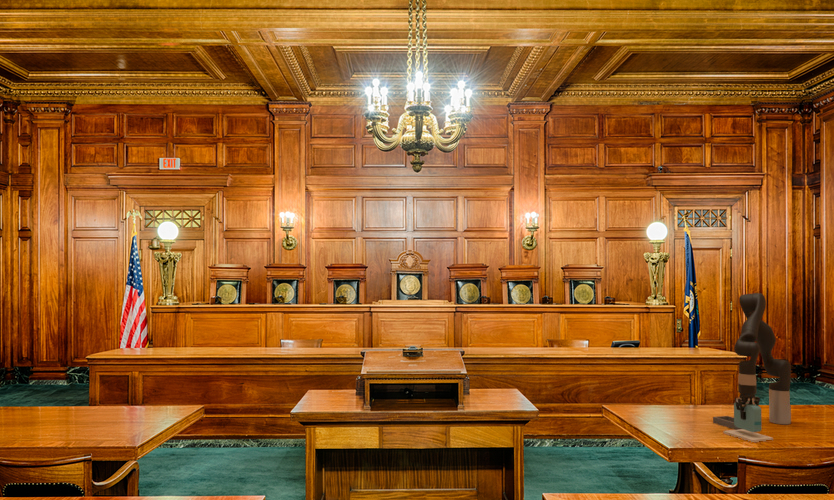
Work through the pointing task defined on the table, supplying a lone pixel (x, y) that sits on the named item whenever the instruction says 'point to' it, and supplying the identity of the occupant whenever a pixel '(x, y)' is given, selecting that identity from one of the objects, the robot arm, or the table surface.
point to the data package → (748, 418)
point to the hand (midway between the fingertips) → (747, 418)
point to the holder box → (725, 421)
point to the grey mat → (747, 435)
